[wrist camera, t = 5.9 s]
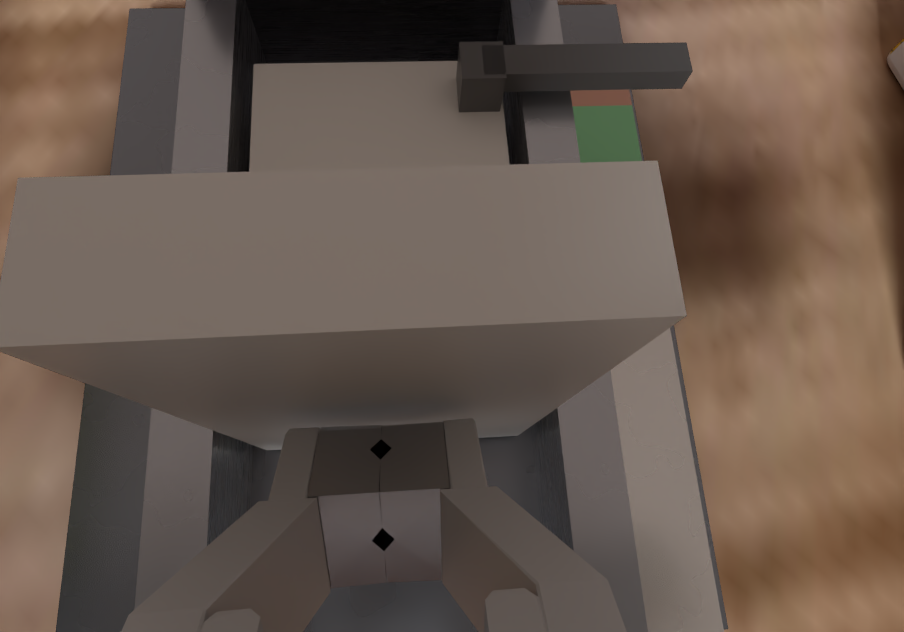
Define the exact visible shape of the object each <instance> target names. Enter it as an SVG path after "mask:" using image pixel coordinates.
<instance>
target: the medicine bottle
mask: <svg viewBox="0 0 904 632" xmlns="http://www.w3.org/2000/svg"><path fill="white" fill-rule="evenodd" d="M887 62H888V65H889V67H890V69H891V70H892V72H893V74H894V75H895V77H896V79H897V80H898V82H899V83H900V85H901V87H902V88H903V90H904V39H903V40H902V41H901V42H900V43H898V44H897V45H896V46H895V47H894V48H893V49H892V50H891V51H890V53H889V55H888V57H887Z"/></svg>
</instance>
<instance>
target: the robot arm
mask: <svg viewBox="0 0 904 632" xmlns="http://www.w3.org/2000/svg"><path fill="white" fill-rule="evenodd" d="M434 580H442V583H443V584H444V586H445V587H446V588H447V590H448V591H449V593H450V594H451V595H452V597H453V598H454V599H455V601H456V602H457V603H458V605H459V606H460V607H461V609H462V610H463V611H464V613H465V614H466V615H467V617H468V618H469V620H470V621H471V622H472V624H473V625H474V626H475V628H476V629H477V630H478V632H627V631H626V629H625V626H624V623H623V620H622V618H621V615H620V612H619V609H618V607H617V604H616V601H615V598H614V596H613V593H612V590H611V587H610V585H609V582H608V580H607V579H606V578H605V577H604V576H603V575H601V574H600V573H599V572H598V571H597V570H595V569H594V568H593V567H592V566H591V565H589V564H588V563H587V562H586V561H585V560H584V559H582V558H581V557H580V556H579V555H578V554H576V553H575V552H574V551H573V550H572V549H571V548H569V547H568V546H567V545H566V544H565V543H563V542H562V541H561V540H560V539H559V538H558V537H556V536H555V535H554V534H553V533H552V532H550V531H549V530H548V529H547V528H546V527H545V526H543V525H542V524H541V523H540V522H539V521H537V520H536V519H535V518H534V517H533V516H531V515H530V514H529V513H528V512H527V511H526V510H524V509H523V508H522V507H521V506H520V505H518V504H517V503H516V502H515V501H514V500H513V499H511V498H510V497H509V496H508V495H507V494H505V493H504V492H503V491H502V490H501V489H500V488H498V487H497V486H492V487H488V485H487V480H486V475H485V470H484V465H483V459H482V454H481V449H480V444H479V438H478V433H477V428H476V423H475V421H474V419H473V418H468V419H456V420H444V421H443V422H430V423H413V424H396V425H383V426H382V425H364V426H335V427H321V428H319V427H313V428H292V429H289V430H288V432H287V433H286V434H285V437H284V441H283V445H282V449H281V453H280V457H279V461H278V464H277V468H276V472H275V476H274V480H273V484H272V487H271V491H270V495H269V499H268V501H259V502H257V503H256V504H255V505H254V506H253V507H251V508H250V509H249V510H248V511H247V512H246V513H245V514H243V515H242V516H241V517H240V518H239V519H238V520H237V521H235V522H234V523H233V524H232V525H231V526H230V527H229V528H227V529H226V530H225V531H224V532H223V533H222V534H221V535H219V536H218V537H217V538H216V539H215V540H214V541H213V542H211V543H210V544H209V545H208V546H207V547H206V548H205V549H203V550H202V551H201V552H200V553H199V554H198V555H196V556H195V557H194V558H193V559H192V560H191V561H190V562H188V563H187V564H186V565H185V566H184V567H183V568H182V569H180V570H179V571H178V572H177V573H176V574H175V575H174V576H172V577H171V578H170V579H169V580H168V581H167V582H166V583H164V584H163V585H162V586H161V587H160V588H159V589H158V590H156V591H155V592H154V593H153V594H152V595H151V596H150V597H148V598H147V599H146V600H145V601H144V602H143V603H142V604H140V605H139V606H138V607H137V608H136V609H135V610H134V611H132V612H131V613H130V614H129V615H128V617H127V620H126V622H125V624H124V626H123V629H122V631H121V632H303V631H304V629H305V628H306V626H307V625H308V624H309V622H310V621H311V619H312V618H313V616H314V615H315V614H316V612H317V611H318V609H319V608H320V606H321V605H322V604H323V602H324V601H325V599H326V598H327V596H328V595H329V593H330V592H331V590H330V588H339V587H349V586H359V585H369V584H378V583H386V582H387V583H391V582H412V581H434Z"/></svg>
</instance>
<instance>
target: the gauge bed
mask: <svg viewBox="0 0 904 632" xmlns="http://www.w3.org/2000/svg"><path fill="white" fill-rule="evenodd" d="M497 41H503V45H542V44H618V43H623V41H622V35H621V29H620V24H619V18H618V13H617V7H616V4H613V5H558V2H557V0H186V7H185V8H146V9H130V11H129V20H128V28H127V36H126V45H125V53H124V62H123V70H122V78H121V87H120V95H119V104H118V112H117V121H116V129H115V137H114V146H113V154H112V163H111V171H110V175H144V174H181V173H218V172H249V164H250V140H251V116H252V92H253V68H254V64H280V63H347V62H414V61H458V50H459V42H497ZM503 107H504V117H505V126H506V136H507V145H508V155H509V165H513V164H550V163H587V162H624V161H644V157H643V152H642V146H641V141H640V135H639V130H638V124H637V119H636V113H635V107H634V102H633V96H632V91H631V89H629V90H575V91H522V92H504V94H503ZM479 444H480V449H481V454H482V459H483V465H484V470H485V475H486V480H487V485H488V487H492V486H497V487H498V488H500V489H501V490H502V491H503V492H504V493H505V494H507V495H508V496H509V497H510V498H511V499H513V500H514V501H515V502H516V503H517V504H518V505H520V506H521V507H522V508H523V509H524V510H526V511H527V512H528V513H529V514H530V515H531V516H533V517H534V518H535V519H536V520H537V521H539V522H540V523H541V524H542V525H543V526H545V527H546V528H547V529H548V530H549V531H550V532H552V533H553V534H554V535H555V536H556V537H558V538H559V539H560V540H561V541H562V542H563V543H565V544H566V545H567V546H568V547H569V548H571V549H572V550H573V551H574V552H575V553H576V554H578V555H579V556H580V557H581V558H582V559H584V560H585V561H586V562H587V563H588V564H589V565H591V566H592V567H593V568H594V569H595V570H597V571H598V572H599V573H600V574H601V575H603V576H604V577H605V578H606V579H607V580H608V582H609V585H610V587H611V590H612V593H613V596H614V598H615V601H616V604H617V607H618V609H619V612H620V615H621V618H622V620H623V623H624V626H625V629H626V631H627V632H724V629H728V625H727V620H726V614H725V608H724V603H723V597H722V592H721V586H720V581H719V575H718V569H717V564H716V558H715V553H714V547H713V542H712V536H711V530H710V525H709V519H708V514H707V508H706V503H705V497H704V492H703V486H702V480H701V475H700V469H699V464H698V458H697V453H696V447H695V441H694V436H693V430H692V425H691V419H690V414H689V408H688V402H687V397H686V391H685V386H684V380H683V375H682V369H681V363H680V358H679V352H678V347H677V341H676V336H675V330H674V325H673V326H672V327H670V328H669V329H668V330H666V331H665V332H663V333H662V334H660V335H659V336H658V337H656V338H655V339H653V340H652V341H651V342H649V343H648V344H646V345H645V346H644V347H642V348H641V349H639V350H638V351H637V352H635V353H634V354H632V355H631V356H629V357H628V358H627V359H625V360H624V361H622V362H621V363H620V364H618V365H617V366H615V367H614V368H613V369H611V370H610V371H608V372H607V373H605V374H604V375H603V376H601V377H600V378H598V379H597V380H596V381H594V382H593V383H591V384H590V385H589V386H587V387H586V388H584V389H583V390H582V391H580V392H579V393H577V394H576V395H574V396H573V397H572V398H570V399H569V400H567V401H566V402H565V403H563V404H562V405H560V406H559V407H558V408H556V409H555V410H553V411H552V412H551V413H549V414H548V415H546V416H545V417H543V418H542V419H541V420H539V421H538V422H536V423H535V424H534V425H532V426H531V427H529V428H528V429H527V430H525V431H524V432H522V433H521V434H520V435H518V436H503V437H486V438H479ZM280 453H281V450H265V449H262V448H259V447H257V446H254V445H251V444H248V443H246V442H243V441H240V440H238V439H235V438H232V437H229V436H227V435H224V434H221V433H219V432H216V431H213V430H211V429H208V428H205V427H202V426H200V425H197V424H194V423H192V422H189V421H186V420H184V419H181V418H178V417H175V416H173V415H170V414H167V413H165V412H162V411H159V410H156V409H154V408H151V407H148V406H146V405H143V404H140V403H138V402H135V401H132V400H129V399H127V398H124V397H121V396H119V395H116V394H113V393H110V392H108V391H105V390H102V389H100V388H97V387H94V386H92V385H89V384H86V383H85V390H84V398H83V407H82V415H81V423H80V432H79V440H78V449H77V457H76V466H75V474H74V482H73V491H72V499H71V508H70V516H69V524H68V533H67V541H66V550H65V558H64V567H63V575H62V583H61V592H60V600H59V609H58V617H57V625H56V632H121V631H122V629H123V626H124V624H125V622H126V620H127V617H128V615H129V614H130V613H131V612H132V611H134V610H135V609H136V608H137V607H138V606H139V605H140V604H142V603H143V602H144V601H145V600H146V599H147V598H148V597H150V596H151V595H152V594H153V593H154V592H155V591H156V590H158V589H159V588H160V587H161V586H162V585H163V584H164V583H166V582H167V581H168V580H169V579H170V578H171V577H172V576H174V575H175V574H176V573H177V572H178V571H179V570H180V569H182V568H183V567H184V566H185V565H186V564H187V563H188V562H190V561H191V560H192V559H193V558H194V557H195V556H196V555H198V554H199V553H200V552H201V551H202V550H203V549H205V548H206V547H207V546H208V545H209V544H210V543H211V542H213V541H214V540H215V539H216V538H217V537H218V536H219V535H221V534H222V533H223V532H224V531H225V530H226V529H227V528H229V527H230V526H231V525H232V524H233V523H234V522H235V521H237V520H238V519H239V518H240V517H241V516H242V515H243V514H245V513H246V512H247V511H248V510H249V509H250V508H251V507H253V506H254V505H255V504H256V503H257V502H259V501H268V499H269V495H270V491H271V487H272V484H273V480H274V476H275V472H276V468H277V464H278V461H279V457H280ZM330 590H331V592H330V593H329V595H328V596H327V598H326V599H325V601H324V602H323V604H322V605H321V606H320V608H319V609H318V611H317V612H316V614H315V615H314V616H313V618H312V619H311V621H310V622H309V624H308V625H307V626H306V628H305V629H304V631H303V632H478V630H477V629H476V628H475V626H474V625H473V624H472V622H471V621H470V620H469V618H468V617H467V615H466V614H465V613H464V611H463V610H462V609H461V607H460V606H459V605H458V603H457V602H456V601H455V599H454V598H453V597H452V595H451V594H450V593H449V591H448V590H447V588H446V587H445V586H444V584H443V583H442V580H434V581H412V582H391V583H387V582H386V583H378V584H369V585H359V586H349V587H339V588H330Z"/></svg>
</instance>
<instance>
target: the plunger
mask: <svg viewBox="0 0 904 632" xmlns="http://www.w3.org/2000/svg"><path fill="white" fill-rule="evenodd" d="M691 73H692V66H691V62H690V57H689V52H688V48H687V43H618V44H542V45H503V41H497V42H459V50H458V61H414V62H347V63H280V64H254V68H253V92H252V116H251V140H250V164H249V172H218V173H181V174H144V175H107V176H70V177H33V178H18V181H17V187H16V193H15V199H14V205H13V211H12V217H11V223H10V229H9V234H8V240H7V246H6V252H5V258H4V264H3V270H2V276H1V282H0V352H2V353H5V354H8V355H10V356H13V357H16V358H19V359H21V360H24V361H27V362H29V363H32V364H35V365H37V366H40V367H43V368H46V369H48V370H51V371H54V372H56V373H59V374H62V375H65V376H67V377H70V378H73V379H75V380H78V381H81V382H83V383H86V384H89V385H92V386H94V387H97V388H100V389H102V390H105V391H108V392H110V393H113V394H116V395H119V396H121V397H124V398H127V399H129V400H132V401H135V402H138V403H140V404H143V405H146V406H148V407H151V408H154V409H156V410H159V411H162V412H165V413H167V414H170V415H173V416H175V417H178V418H181V419H184V420H186V421H189V422H192V423H194V424H197V425H200V426H202V427H205V428H208V429H211V430H213V431H216V432H219V433H221V434H224V435H227V436H229V437H232V438H235V439H238V440H240V441H243V442H246V443H248V444H251V445H254V446H257V447H259V448H262V449H265V450H281V449H282V445H283V441H284V437H285V434H286V433H287V432H288V430H289V429H292V428H313V427H319V428H321V427H335V426H364V425H382V426H383V425H396V424H413V423H430V422H443V421H444V420H456V419H468V418H473V419H474V421H475V423H476V428H477V433H478V438H486V437H503V436H518V435H520V434H521V433H522V432H524V431H525V430H527V429H528V428H529V427H531V426H532V425H534V424H535V423H536V422H538V421H539V420H541V419H542V418H543V417H545V416H546V415H548V414H549V413H551V412H552V411H553V410H555V409H556V408H558V407H559V406H560V405H562V404H563V403H565V402H566V401H567V400H569V399H570V398H572V397H573V396H574V395H576V394H577V393H579V392H580V391H582V390H583V389H584V388H586V387H587V386H589V385H590V384H591V383H593V382H594V381H596V380H597V379H598V378H600V377H601V376H603V375H604V374H605V373H607V372H608V371H610V370H611V369H613V368H614V367H615V366H617V365H618V364H620V363H621V362H622V361H624V360H625V359H627V358H628V357H629V356H631V355H632V354H634V353H635V352H637V351H638V350H639V349H641V348H642V347H644V346H645V345H646V344H648V343H649V342H651V341H652V340H653V339H655V338H656V337H658V336H659V335H660V334H662V333H663V332H665V331H666V330H668V329H669V328H670V327H672V326H673V325H675V324H676V323H677V322H679V321H680V320H682V319H683V318H684V317H686V316H687V314H686V309H685V304H684V298H683V293H682V288H681V282H680V277H679V272H678V266H677V261H676V256H675V250H674V245H673V240H672V234H671V229H670V224H669V218H668V213H667V208H666V202H665V197H664V192H663V186H662V181H661V176H660V170H659V165H658V161H624V162H587V163H550V164H513V165H509V155H508V145H507V136H506V126H505V117H504V107H503V94H504V92H522V91H575V90H629V89H682V87H683V86H684V84H685V82H686V81H687V79H688V78H689V76H690V75H691Z"/></svg>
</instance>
